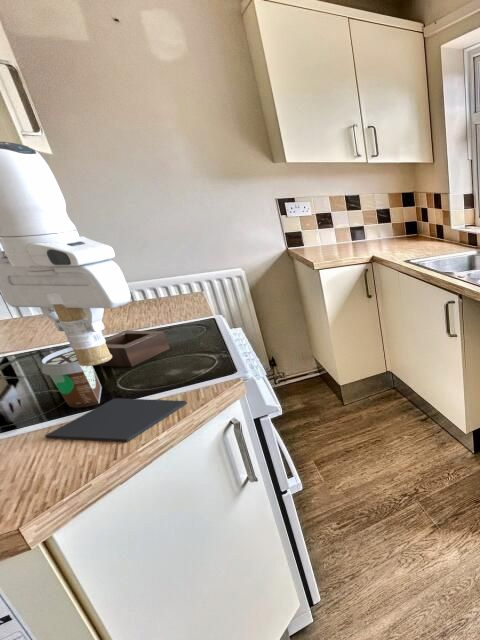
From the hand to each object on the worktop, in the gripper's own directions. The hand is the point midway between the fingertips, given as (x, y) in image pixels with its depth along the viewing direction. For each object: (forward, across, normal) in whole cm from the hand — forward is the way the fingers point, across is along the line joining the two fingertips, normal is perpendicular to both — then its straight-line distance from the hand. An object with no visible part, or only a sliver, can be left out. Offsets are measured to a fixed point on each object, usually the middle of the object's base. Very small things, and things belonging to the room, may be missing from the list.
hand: (82, 330), depth 73 cm
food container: (+18, -15, +6) cm, 25 cm away
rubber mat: (+18, 0, 0) cm, 18 cm away
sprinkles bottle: (+6, 0, 0) cm, 6 cm away
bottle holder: (+18, -25, +27) cm, 41 cm away
